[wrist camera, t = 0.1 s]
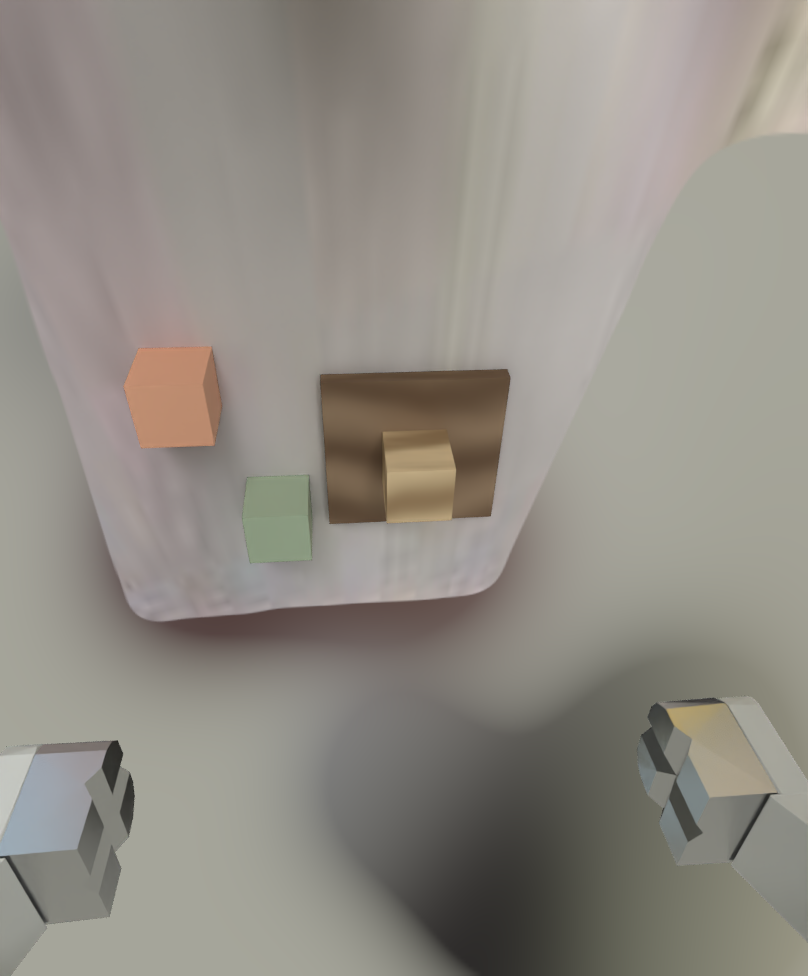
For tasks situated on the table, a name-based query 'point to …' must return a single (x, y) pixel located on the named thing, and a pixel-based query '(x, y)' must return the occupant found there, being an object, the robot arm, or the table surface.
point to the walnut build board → (411, 412)
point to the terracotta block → (174, 397)
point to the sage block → (278, 518)
